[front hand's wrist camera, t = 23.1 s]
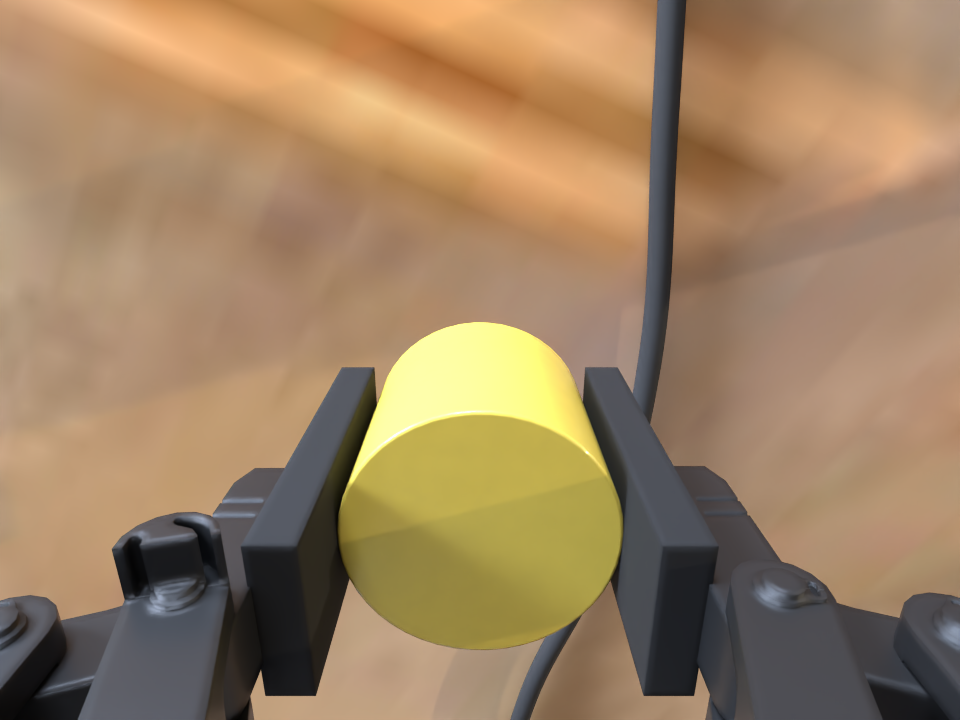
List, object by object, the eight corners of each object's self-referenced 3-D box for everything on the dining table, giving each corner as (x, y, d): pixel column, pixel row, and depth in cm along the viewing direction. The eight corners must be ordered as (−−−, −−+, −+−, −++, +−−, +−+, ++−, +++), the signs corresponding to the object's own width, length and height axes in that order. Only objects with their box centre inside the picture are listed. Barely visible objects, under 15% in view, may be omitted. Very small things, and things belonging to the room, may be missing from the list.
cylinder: (470, 536, 16) (466, 692, 12) (337, 408, 15) (276, 529, 10) (621, 427, 15) (681, 553, 11) (491, 278, 14) (497, 350, 9)
